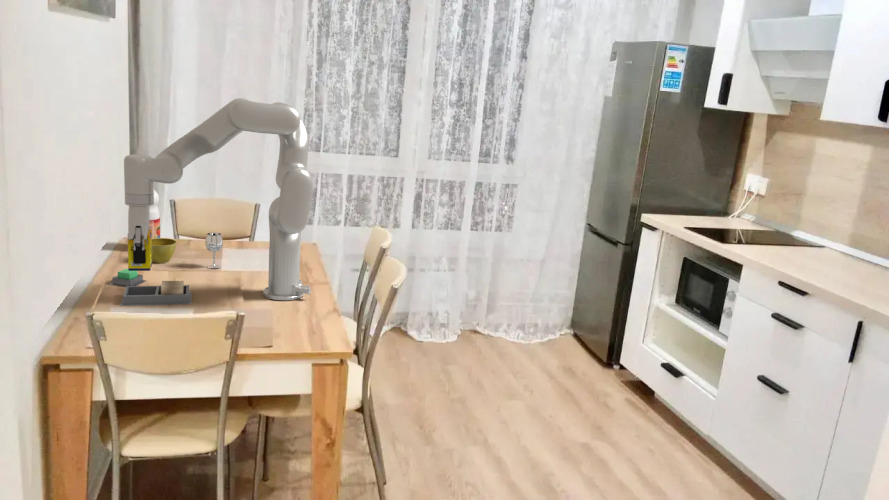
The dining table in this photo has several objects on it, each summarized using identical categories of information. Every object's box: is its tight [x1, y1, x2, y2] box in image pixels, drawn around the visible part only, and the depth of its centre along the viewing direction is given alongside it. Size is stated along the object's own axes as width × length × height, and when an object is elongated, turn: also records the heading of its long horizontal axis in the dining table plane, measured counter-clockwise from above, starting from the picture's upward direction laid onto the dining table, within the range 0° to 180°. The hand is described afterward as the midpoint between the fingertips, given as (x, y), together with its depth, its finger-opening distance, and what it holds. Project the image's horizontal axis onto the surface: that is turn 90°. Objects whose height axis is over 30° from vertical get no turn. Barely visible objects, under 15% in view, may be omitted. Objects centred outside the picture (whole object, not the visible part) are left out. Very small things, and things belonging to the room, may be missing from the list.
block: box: [160, 280, 185, 295], centre depth 203 cm, size 6×6×4 cm
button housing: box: [107, 273, 147, 288], centre depth 214 cm, size 8×8×3 cm
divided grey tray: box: [119, 284, 193, 307], centre depth 202 cm, size 19×11×4 cm, turn 109°
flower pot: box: [152, 237, 177, 264], centre depth 240 cm, size 10×10×7 cm
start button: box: [117, 268, 138, 279], centre depth 213 cm, size 4×4×2 cm
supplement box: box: [127, 230, 153, 272], centre depth 197 cm, size 6×6×11 cm
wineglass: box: [204, 231, 224, 269], centre depth 238 cm, size 6×6×12 cm
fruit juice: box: [149, 189, 161, 239], centre depth 250 cm, size 9×9×28 cm
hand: (140, 259), depth 198 cm, fingers closed on supplement box, 6 cm apart
